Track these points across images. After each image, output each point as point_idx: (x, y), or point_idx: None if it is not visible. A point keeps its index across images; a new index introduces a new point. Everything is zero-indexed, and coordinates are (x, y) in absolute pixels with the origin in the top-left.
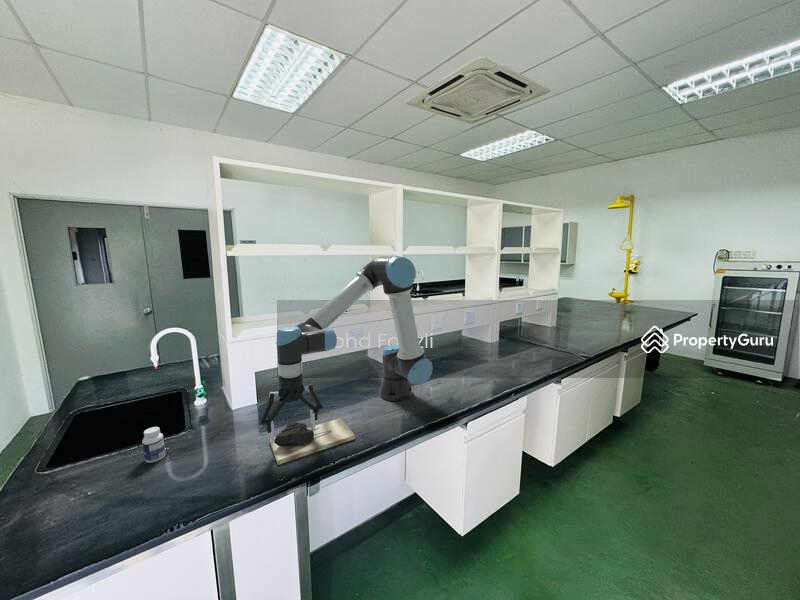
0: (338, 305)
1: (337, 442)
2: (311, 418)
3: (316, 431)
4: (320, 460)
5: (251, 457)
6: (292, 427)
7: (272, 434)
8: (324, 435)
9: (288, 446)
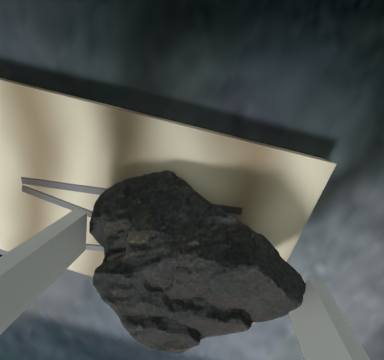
0: None
1: (29, 86)
2: (16, 291)
3: None
4: (157, 24)
5: (354, 284)
6: (174, 310)
7: (352, 340)
8: (60, 178)
9: None
